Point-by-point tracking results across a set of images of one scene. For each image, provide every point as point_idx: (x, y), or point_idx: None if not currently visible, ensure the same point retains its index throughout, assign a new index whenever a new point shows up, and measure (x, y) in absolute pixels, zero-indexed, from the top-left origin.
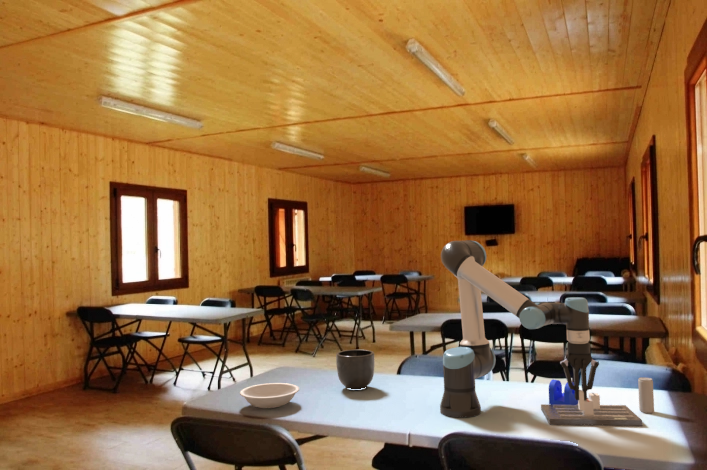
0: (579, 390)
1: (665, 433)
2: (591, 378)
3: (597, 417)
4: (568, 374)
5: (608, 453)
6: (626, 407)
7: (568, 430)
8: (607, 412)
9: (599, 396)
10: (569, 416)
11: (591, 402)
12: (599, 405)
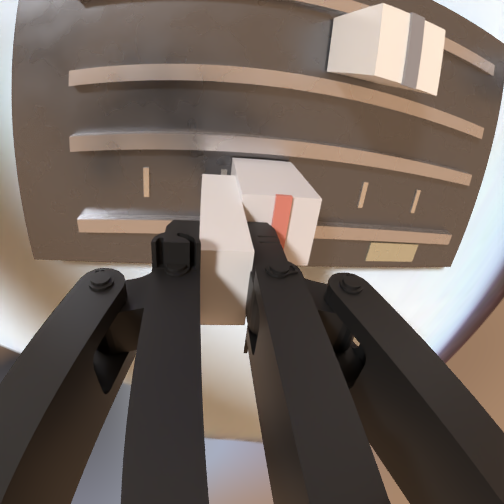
0: (213, 284)
1: (442, 313)
2: (377, 436)
3: None
4: (53, 494)
5: (210, 434)
6: (500, 78)
7: None
8: (385, 168)
9: (431, 94)
10: (130, 229)
11: (292, 261)
12: (390, 85)
